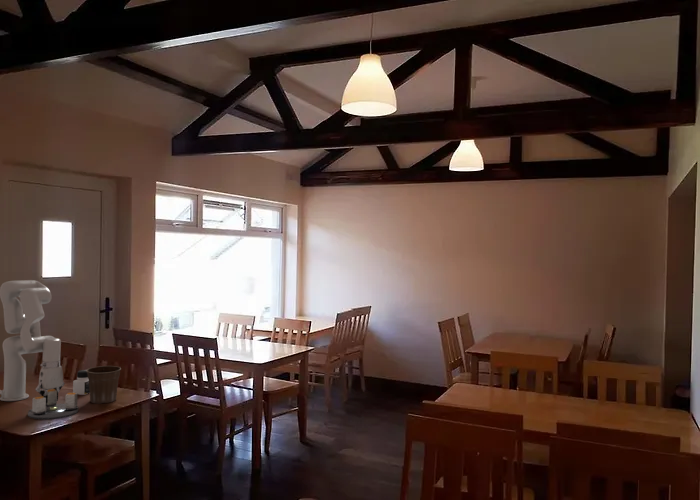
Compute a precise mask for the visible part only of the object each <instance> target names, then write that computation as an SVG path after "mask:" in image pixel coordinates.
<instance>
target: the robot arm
mask: <svg viewBox="0 0 700 500" xmlns="http://www.w3.org/2000/svg"><path fill="white" fill-rule="evenodd" d="M52 297H53V296H52V293H51V290H50V289H49V288H48V286H46V285H44V284H43V283H41V282H40V281H39V280H33V279H27V280H24V279H23V280H21V279H20V280H9V281H5V282H3V283H2V284H1V285H0V301H1V303H2V307H3V320H4V329H5V330H4V331H6V333H7V334H12V335H13V334H20V335H14V336H10V337H7V338H5V339H4V340H3V342H2V351H3V359H4V361H3V362H4V365H3V366H4V369H3V372H4V373H3V389H2V390H1V389H0V401H2V402H3V401H4V402H17V401H22V400H26V399H28V398H29V397H30V395H29V394H28V393H26V385H27V384H26V382H27V380H26V377H27V361H26V360H25V359H24V358H23V356H22V355H25V354H36V353H42V363H40V367H41V369H40V372H39V376H38V377H39V378H38V384H37V386H36V387H35V391H36V392H37V393H39V395H40V396H43V397H45V398H46V404H47V395H46V394H47V391H48V390H50V389H55V390H57V402H58V401H59V393H60V391H61V389H63V387H64V385H65V384H66V383H65V382H64V375H63V366H62V365H61V352H62V351H61V347H62V345H61V344H62V341H61V339H60V338H57V337H54V336H52V335H43V336H42V335H41V334H42V333H41V323H40V321H41V320H43V319H44V318H45V312H44V308H43V305H45V304H49V303H50V302H51V301H52ZM18 298H19V299H18Z"/></svg>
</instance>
